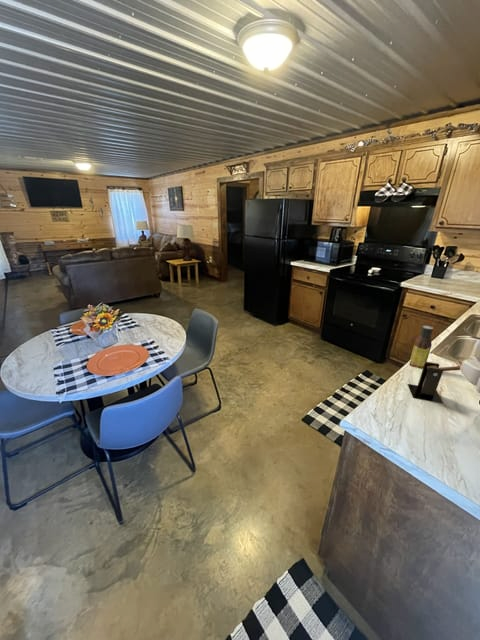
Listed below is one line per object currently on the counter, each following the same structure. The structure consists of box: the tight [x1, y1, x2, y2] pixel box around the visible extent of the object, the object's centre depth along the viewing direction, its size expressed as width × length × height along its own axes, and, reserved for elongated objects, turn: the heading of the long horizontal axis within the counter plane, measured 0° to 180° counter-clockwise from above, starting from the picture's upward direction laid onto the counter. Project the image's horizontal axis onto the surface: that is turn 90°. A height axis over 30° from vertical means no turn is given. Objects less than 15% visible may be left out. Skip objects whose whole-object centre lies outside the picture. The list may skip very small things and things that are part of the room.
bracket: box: [407, 361, 444, 405], centre depth 100 cm, size 10×9×14 cm
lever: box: [427, 361, 463, 372], centre depth 97 cm, size 11×7×2 cm, turn 72°
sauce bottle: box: [409, 325, 434, 369], centre depth 118 cm, size 6×6×20 cm
